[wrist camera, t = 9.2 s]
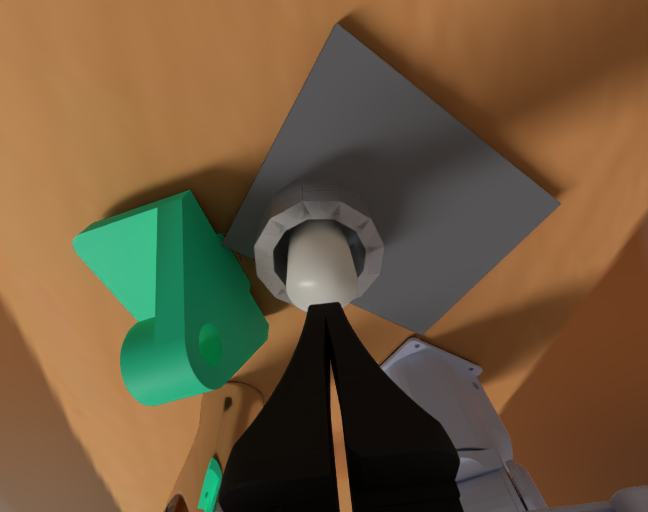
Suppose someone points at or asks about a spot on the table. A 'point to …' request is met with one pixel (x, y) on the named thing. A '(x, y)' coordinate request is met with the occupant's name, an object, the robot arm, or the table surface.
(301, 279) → the plug cap
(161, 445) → the table surface
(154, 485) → the table surface
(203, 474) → the beer glass
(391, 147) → the mat
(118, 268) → the camera mount
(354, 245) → the sleeve
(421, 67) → the table surface
